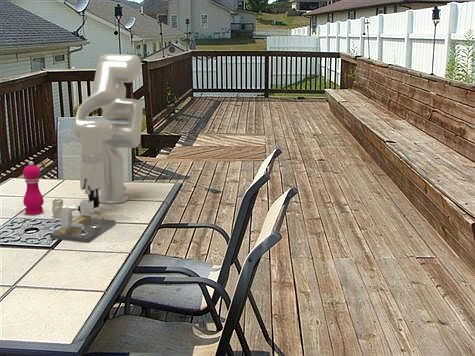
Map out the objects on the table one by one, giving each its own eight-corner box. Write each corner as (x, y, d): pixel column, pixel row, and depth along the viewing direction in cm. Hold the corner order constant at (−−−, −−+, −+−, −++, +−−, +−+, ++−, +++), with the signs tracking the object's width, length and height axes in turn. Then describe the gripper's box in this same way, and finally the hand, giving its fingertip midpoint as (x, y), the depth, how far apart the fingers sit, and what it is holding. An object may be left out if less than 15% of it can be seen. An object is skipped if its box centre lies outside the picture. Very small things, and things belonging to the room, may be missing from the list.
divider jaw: (84, 216, 210) (84, 199, 208) (105, 218, 208) (105, 201, 206) (80, 218, 207) (80, 201, 205) (101, 220, 205) (101, 203, 203)
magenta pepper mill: (48, 211, 221) (45, 160, 216) (36, 216, 214) (32, 163, 210) (32, 209, 223) (29, 158, 218) (20, 214, 217) (16, 162, 212)
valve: (50, 219, 211) (84, 219, 212) (49, 202, 210) (83, 202, 211) (54, 214, 218) (87, 214, 219) (53, 197, 216) (86, 197, 217)
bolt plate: (80, 220, 211) (79, 196, 209) (115, 224, 208) (114, 200, 206) (50, 238, 192) (48, 212, 190) (88, 242, 189) (87, 216, 187)
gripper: (92, 153, 215) (94, 200, 220) (72, 161, 201) (74, 211, 206) (111, 154, 214) (112, 202, 218) (91, 162, 200) (93, 213, 204)
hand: (94, 206), depth 212 cm, fingers closed
